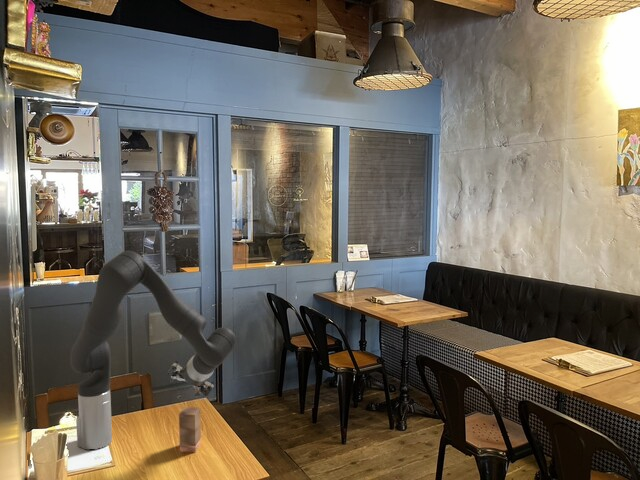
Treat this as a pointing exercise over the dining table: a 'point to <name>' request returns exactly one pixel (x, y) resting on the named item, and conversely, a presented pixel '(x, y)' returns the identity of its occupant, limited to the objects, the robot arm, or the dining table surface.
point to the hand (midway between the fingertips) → (184, 386)
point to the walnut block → (189, 429)
